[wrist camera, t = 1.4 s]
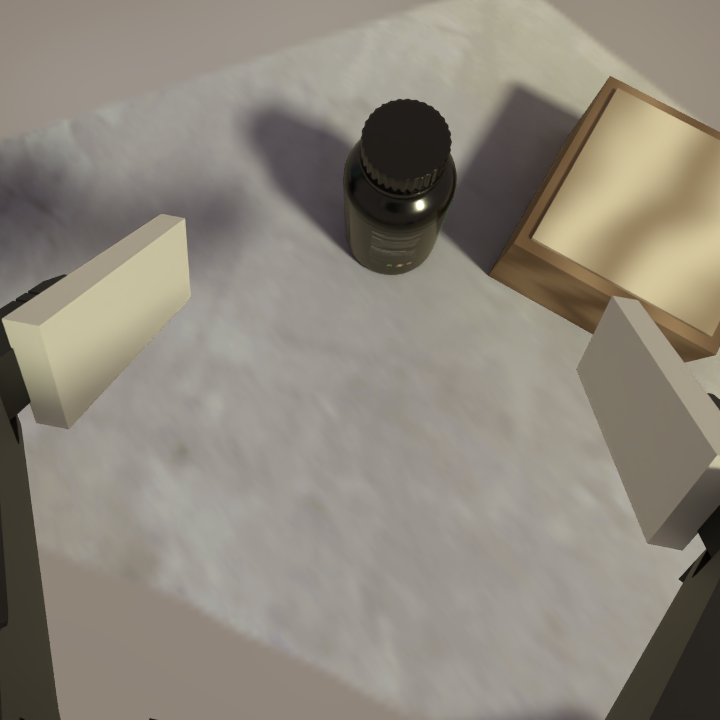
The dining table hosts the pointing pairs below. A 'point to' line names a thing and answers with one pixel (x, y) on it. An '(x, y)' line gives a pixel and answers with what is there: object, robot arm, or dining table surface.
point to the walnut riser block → (627, 222)
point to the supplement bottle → (398, 186)
